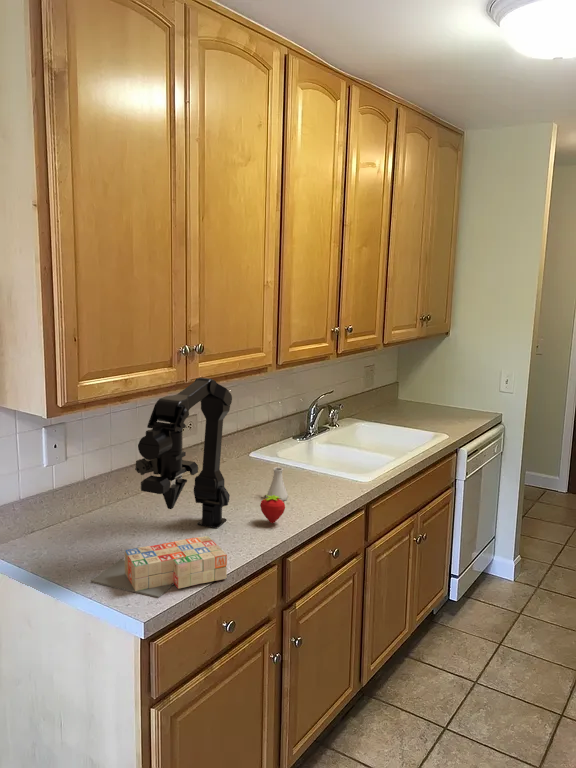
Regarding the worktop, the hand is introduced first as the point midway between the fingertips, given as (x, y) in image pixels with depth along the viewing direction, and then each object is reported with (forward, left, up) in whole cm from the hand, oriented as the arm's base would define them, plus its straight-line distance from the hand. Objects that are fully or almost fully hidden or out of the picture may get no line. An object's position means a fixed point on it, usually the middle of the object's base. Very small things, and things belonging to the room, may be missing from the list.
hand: (170, 508), depth 162 cm
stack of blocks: (+5, +2, -10) cm, 11 cm away
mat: (+13, -1, -13) cm, 18 cm away
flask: (-51, +10, -13) cm, 54 cm away
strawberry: (-31, +16, -13) cm, 37 cm away
